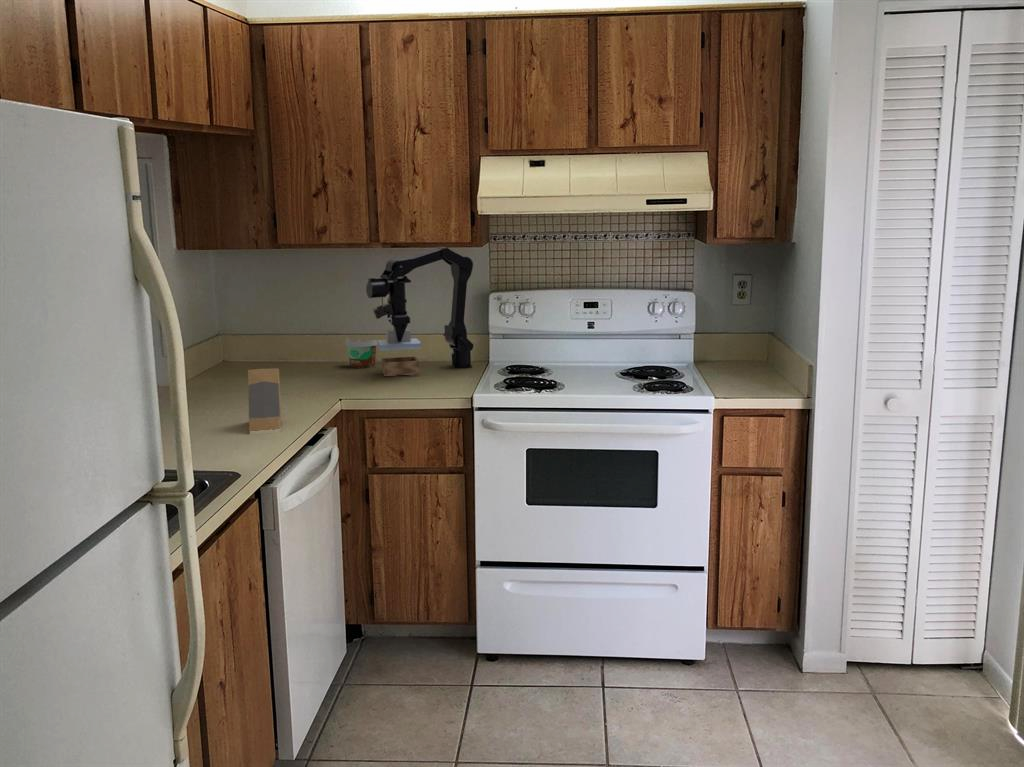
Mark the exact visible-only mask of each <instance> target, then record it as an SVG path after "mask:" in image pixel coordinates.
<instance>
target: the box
mask: <svg viewBox="0 0 1024 767" xmlns="http://www.w3.org/2000/svg"><path fill="white" fill-rule="evenodd" d="M382 372H383V373H382ZM381 373H382V375H383V374H384V375H383V376H394V375H410V376H415V375H414V374H419V375H420V360H419V359H418V358H417V356H414V355H413V356H401V357H400V356H399V357H382V358H381ZM394 377H395V376H394Z"/></svg>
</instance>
